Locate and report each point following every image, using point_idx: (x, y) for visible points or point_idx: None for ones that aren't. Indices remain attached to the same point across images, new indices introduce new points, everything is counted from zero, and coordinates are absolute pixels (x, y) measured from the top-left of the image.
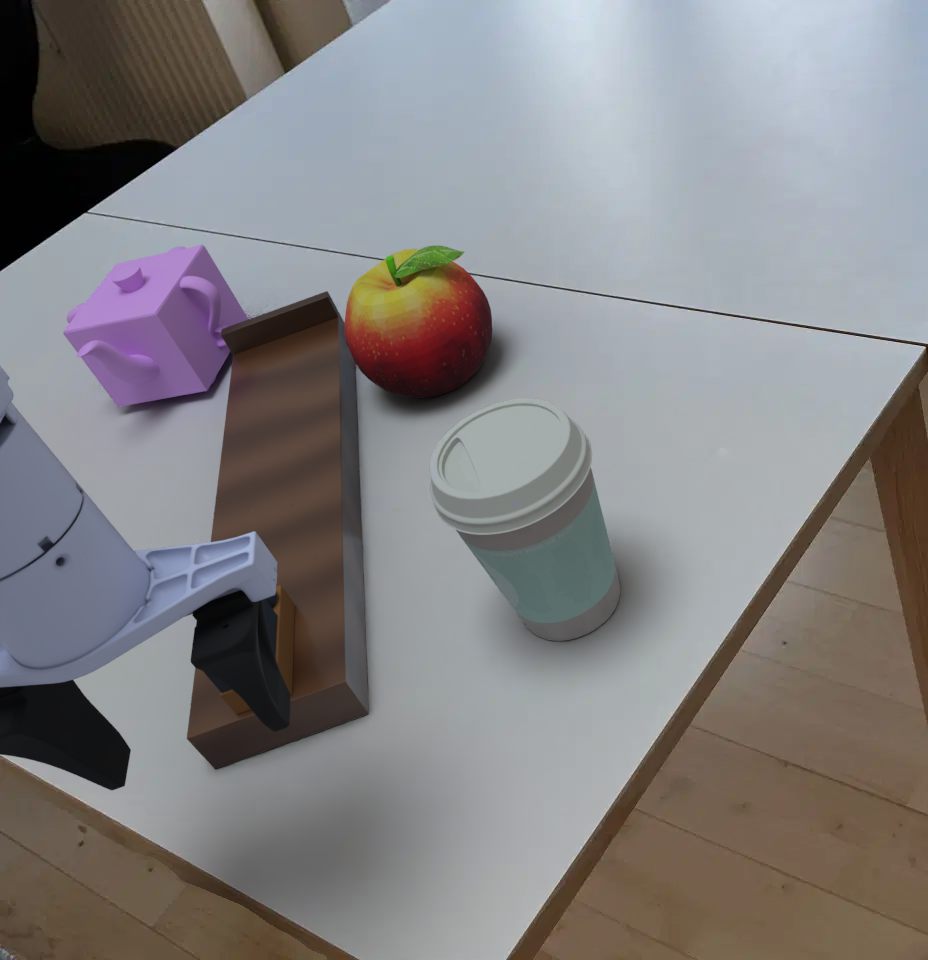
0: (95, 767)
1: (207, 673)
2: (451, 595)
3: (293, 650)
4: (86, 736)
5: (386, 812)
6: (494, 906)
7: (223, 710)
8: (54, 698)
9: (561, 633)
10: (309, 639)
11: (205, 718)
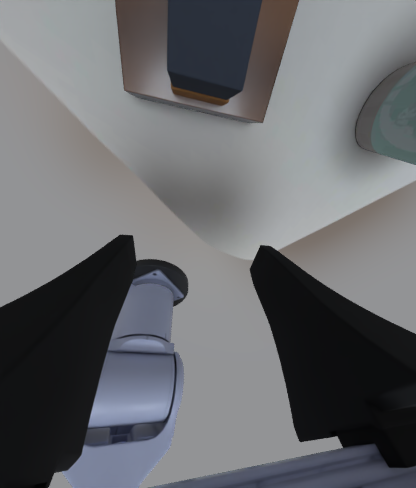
0: (124, 297)
1: (173, 80)
2: (358, 13)
3: None
4: (112, 298)
5: (235, 199)
6: (255, 251)
7: (159, 74)
8: (79, 366)
9: (366, 148)
10: None
11: (140, 72)
